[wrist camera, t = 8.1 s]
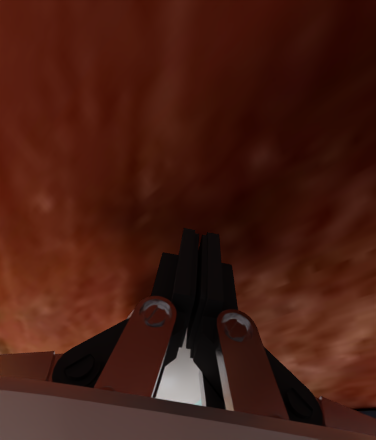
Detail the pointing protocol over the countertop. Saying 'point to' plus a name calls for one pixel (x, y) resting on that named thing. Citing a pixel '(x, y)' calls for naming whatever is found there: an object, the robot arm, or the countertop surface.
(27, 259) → the countertop surface
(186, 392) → the cue ball
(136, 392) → the robot arm
